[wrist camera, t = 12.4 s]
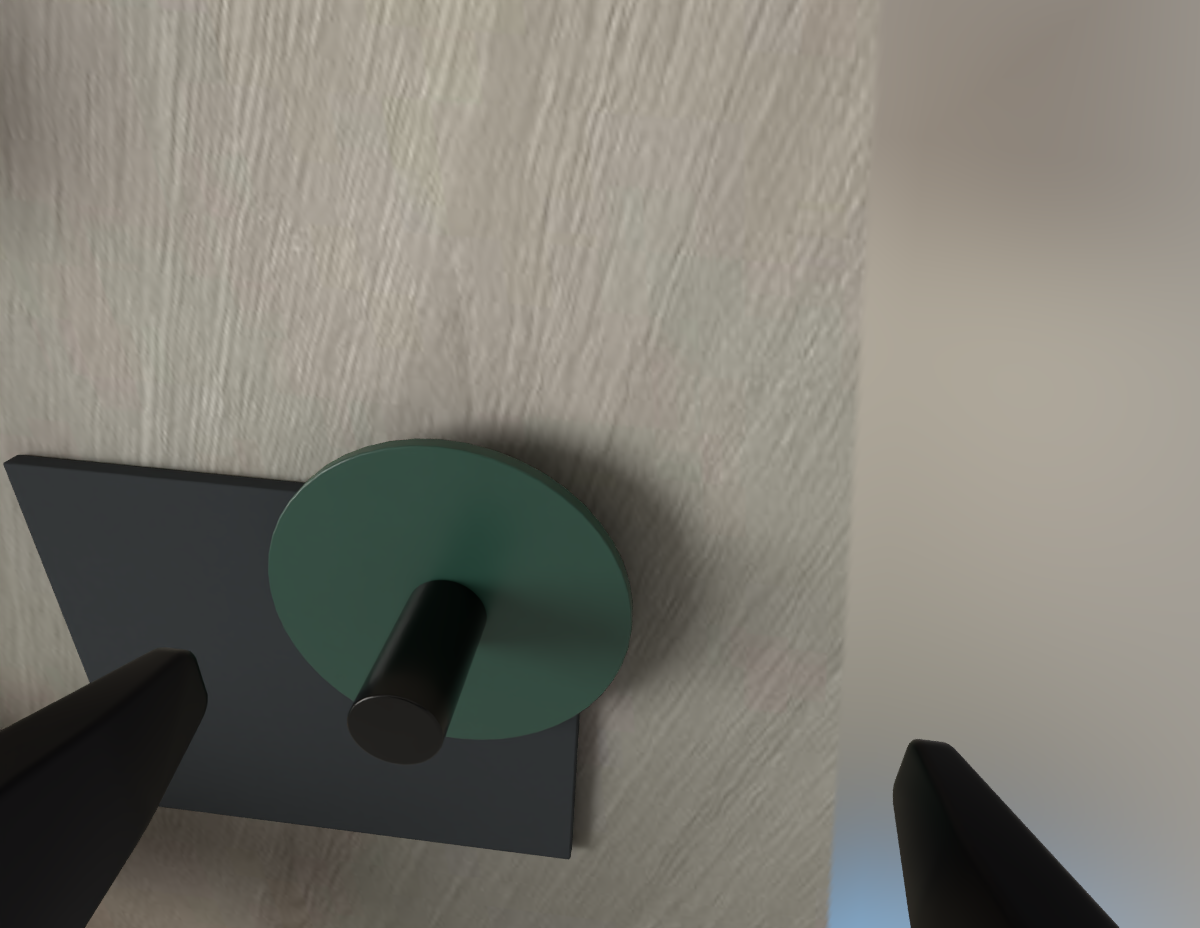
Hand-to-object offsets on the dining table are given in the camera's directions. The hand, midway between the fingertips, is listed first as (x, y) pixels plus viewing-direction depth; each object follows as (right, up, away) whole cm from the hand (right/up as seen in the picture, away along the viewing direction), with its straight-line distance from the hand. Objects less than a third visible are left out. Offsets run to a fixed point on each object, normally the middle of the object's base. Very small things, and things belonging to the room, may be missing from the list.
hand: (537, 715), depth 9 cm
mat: (-9, -4, +16) cm, 19 cm away
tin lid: (-4, -1, +13) cm, 13 cm away
